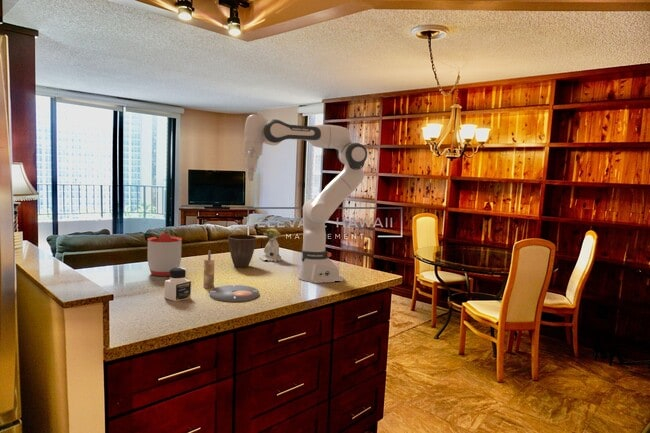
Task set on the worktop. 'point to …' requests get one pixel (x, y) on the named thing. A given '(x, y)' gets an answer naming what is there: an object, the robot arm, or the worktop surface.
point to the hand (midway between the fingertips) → (250, 179)
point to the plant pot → (241, 249)
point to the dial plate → (234, 293)
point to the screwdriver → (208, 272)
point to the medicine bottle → (177, 285)
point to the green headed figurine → (271, 246)
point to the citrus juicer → (164, 254)
